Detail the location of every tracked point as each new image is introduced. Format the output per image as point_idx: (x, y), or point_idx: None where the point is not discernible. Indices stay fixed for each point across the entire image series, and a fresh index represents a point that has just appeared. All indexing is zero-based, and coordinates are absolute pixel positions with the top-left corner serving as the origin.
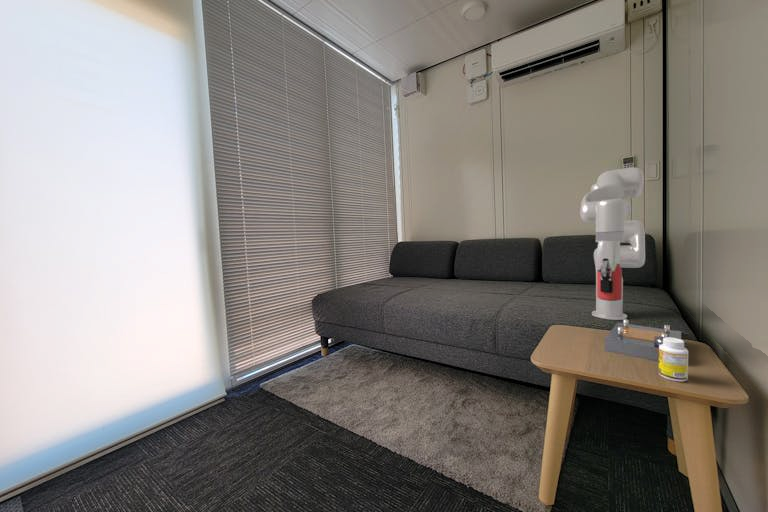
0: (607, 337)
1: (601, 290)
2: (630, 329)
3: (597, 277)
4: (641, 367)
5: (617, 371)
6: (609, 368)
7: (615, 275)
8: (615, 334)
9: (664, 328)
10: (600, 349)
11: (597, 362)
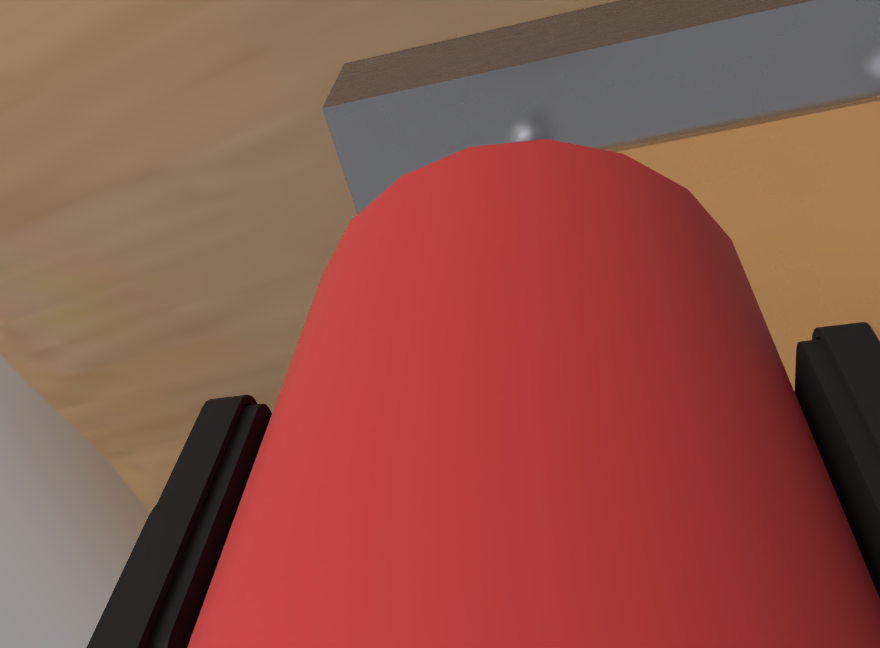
0: (376, 113)
1: (208, 430)
2: (833, 167)
3: (282, 591)
4: (238, 338)
5: (36, 279)
6: (28, 234)
7: None
8: (548, 122)
9: None
10: (336, 28)
11: (39, 143)
